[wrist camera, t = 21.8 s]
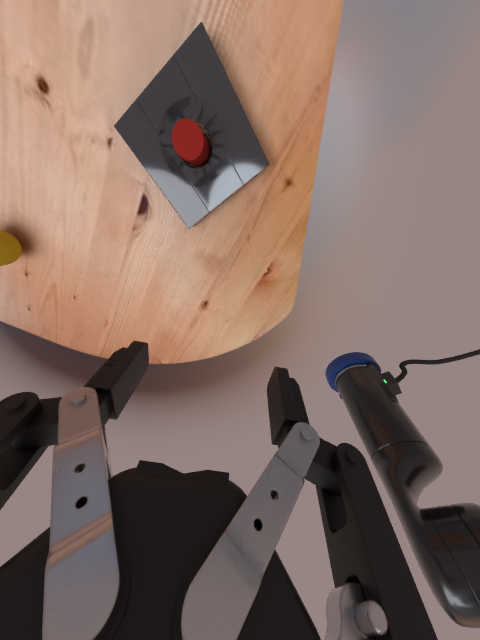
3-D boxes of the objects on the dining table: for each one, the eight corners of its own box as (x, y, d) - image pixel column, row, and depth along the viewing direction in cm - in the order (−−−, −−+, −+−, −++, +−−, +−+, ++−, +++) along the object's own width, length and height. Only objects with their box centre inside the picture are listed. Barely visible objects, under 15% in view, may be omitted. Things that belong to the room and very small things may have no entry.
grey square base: (205, 37, 23) (201, 21, 20) (267, 166, 29) (269, 164, 26) (124, 131, 27) (113, 125, 25) (192, 226, 33) (189, 228, 31)
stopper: (200, 125, 26) (189, 108, 21) (216, 154, 28) (210, 145, 23) (179, 145, 28) (164, 134, 22) (196, 172, 29) (186, 167, 24)
